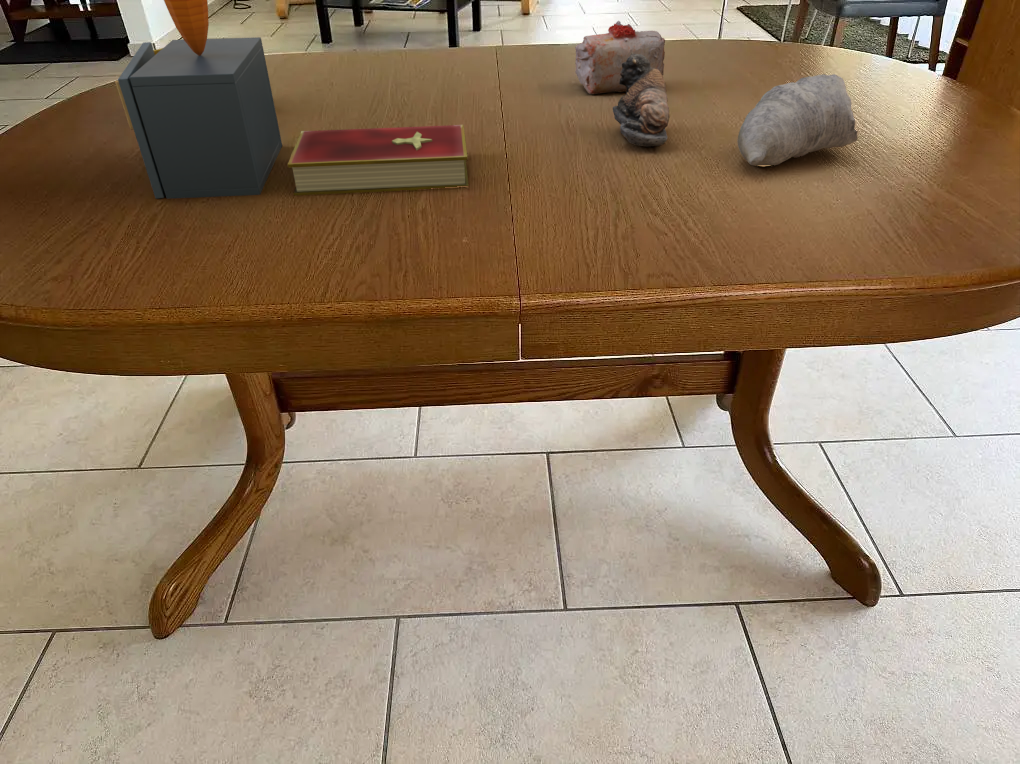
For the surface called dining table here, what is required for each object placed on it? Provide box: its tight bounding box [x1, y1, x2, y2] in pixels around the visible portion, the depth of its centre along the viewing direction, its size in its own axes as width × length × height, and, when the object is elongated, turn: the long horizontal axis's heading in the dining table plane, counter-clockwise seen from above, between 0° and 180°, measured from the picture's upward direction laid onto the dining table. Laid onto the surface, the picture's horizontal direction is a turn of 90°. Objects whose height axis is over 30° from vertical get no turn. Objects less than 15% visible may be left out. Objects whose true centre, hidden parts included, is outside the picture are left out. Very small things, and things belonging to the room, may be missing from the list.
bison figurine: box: [612, 52, 671, 148], centre depth 101 cm, size 12×7×10 cm, turn 9°
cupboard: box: [130, 36, 283, 200], centre depth 91 cm, size 11×17×14 cm, turn 5°
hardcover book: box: [287, 124, 470, 196], centre depth 93 cm, size 12×21×4 cm, turn 95°
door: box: [114, 41, 166, 200], centre depth 90 cm, size 5×17×14 cm, turn 13°
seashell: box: [737, 73, 859, 167], centre depth 94 cm, size 16×15×10 cm
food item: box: [574, 20, 666, 95], centre depth 120 cm, size 14×8×10 cm, turn 101°
